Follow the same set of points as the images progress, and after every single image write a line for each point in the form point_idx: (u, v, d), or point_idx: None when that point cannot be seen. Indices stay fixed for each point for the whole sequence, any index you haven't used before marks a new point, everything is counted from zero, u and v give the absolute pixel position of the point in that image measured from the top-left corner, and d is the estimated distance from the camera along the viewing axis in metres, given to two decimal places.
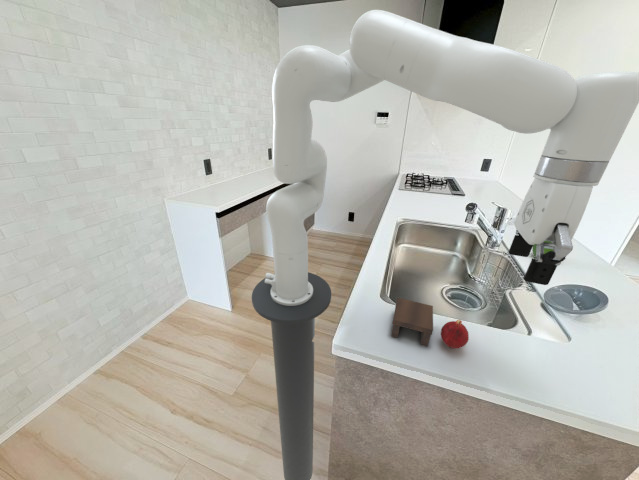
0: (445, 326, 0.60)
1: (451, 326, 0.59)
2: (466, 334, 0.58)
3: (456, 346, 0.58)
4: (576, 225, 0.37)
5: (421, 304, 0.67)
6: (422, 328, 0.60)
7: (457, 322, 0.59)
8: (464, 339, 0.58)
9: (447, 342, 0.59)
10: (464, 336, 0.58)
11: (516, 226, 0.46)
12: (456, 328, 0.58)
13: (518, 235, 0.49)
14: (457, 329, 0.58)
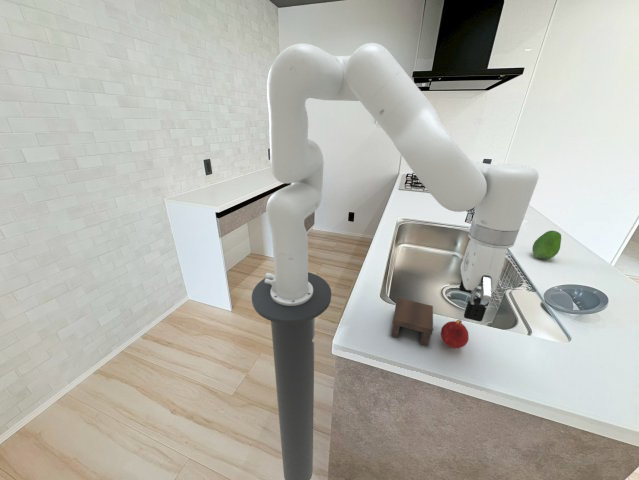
0: (445, 326, 0.60)
1: (451, 326, 0.59)
2: (466, 334, 0.58)
3: (456, 346, 0.58)
4: (497, 277, 0.47)
5: (421, 304, 0.67)
6: (422, 328, 0.60)
7: (457, 322, 0.59)
8: (464, 339, 0.58)
9: (447, 342, 0.59)
10: (464, 336, 0.58)
11: (461, 270, 0.56)
12: (456, 328, 0.58)
13: None
14: (457, 329, 0.58)
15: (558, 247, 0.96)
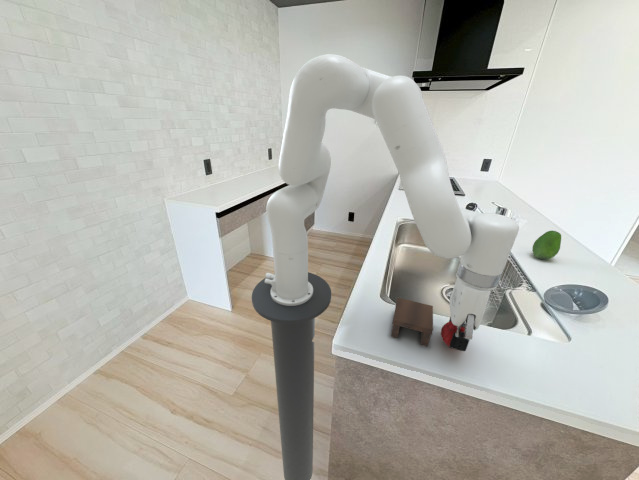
0: (445, 326, 0.60)
1: (451, 326, 0.59)
2: None
3: None
4: (481, 316, 0.51)
5: (421, 304, 0.67)
6: (422, 328, 0.60)
7: None
8: None
9: (447, 342, 0.59)
10: None
11: None
12: None
13: None
14: None
15: (558, 247, 0.96)
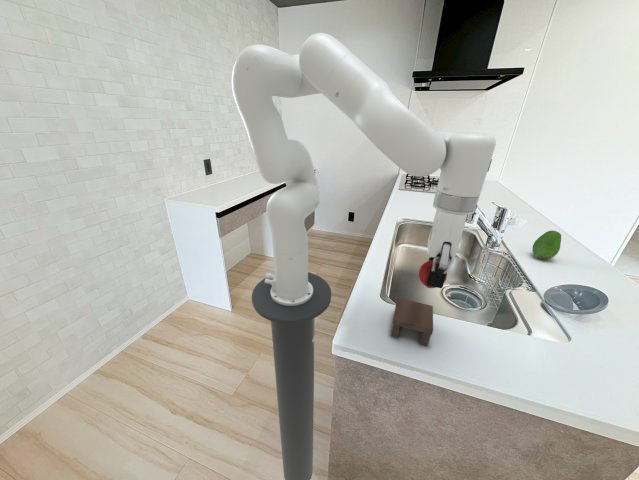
0: (423, 265, 0.58)
1: (429, 263, 0.57)
2: None
3: None
4: (457, 244, 0.49)
5: (421, 304, 0.67)
6: (422, 328, 0.60)
7: None
8: None
9: (424, 280, 0.57)
10: None
11: (428, 241, 0.58)
12: None
13: None
14: None
15: (558, 247, 0.96)
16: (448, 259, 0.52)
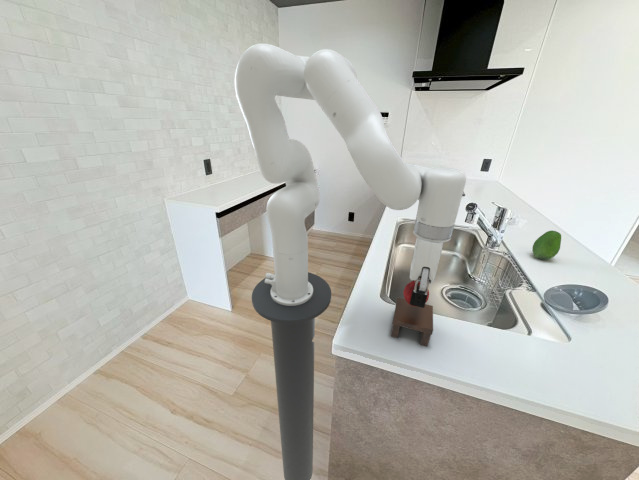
0: (407, 285, 0.62)
1: (412, 284, 0.61)
2: None
3: None
4: (434, 268, 0.53)
5: None
6: (422, 328, 0.60)
7: None
8: None
9: (408, 300, 0.61)
10: None
11: (411, 263, 0.62)
12: None
13: None
14: (417, 286, 0.60)
15: (558, 247, 0.96)
16: (428, 282, 0.56)
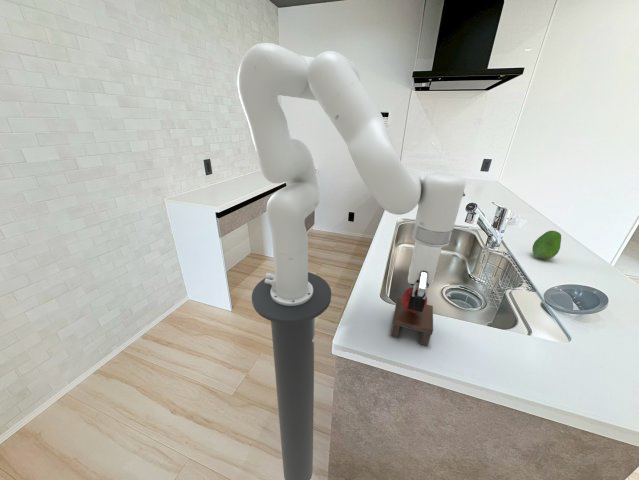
0: (405, 292, 0.63)
1: (410, 291, 0.62)
2: None
3: (414, 310, 0.61)
4: (433, 273, 0.53)
5: None
6: (422, 328, 0.60)
7: (416, 287, 0.61)
8: None
9: (406, 306, 0.62)
10: None
11: None
12: None
13: None
14: None
15: (558, 247, 0.96)
16: (426, 285, 0.55)
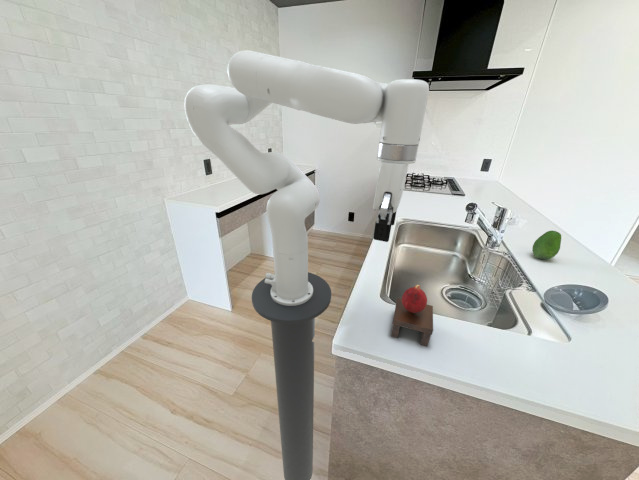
0: (405, 292, 0.63)
1: (410, 291, 0.62)
2: (424, 298, 0.61)
3: (414, 310, 0.61)
4: (397, 193, 0.50)
5: None
6: (422, 328, 0.60)
7: (416, 287, 0.61)
8: (421, 302, 0.60)
9: (406, 306, 0.62)
10: (422, 299, 0.60)
11: None
12: (414, 292, 0.61)
13: None
14: (415, 293, 0.61)
15: (558, 247, 0.96)
16: (391, 209, 0.52)
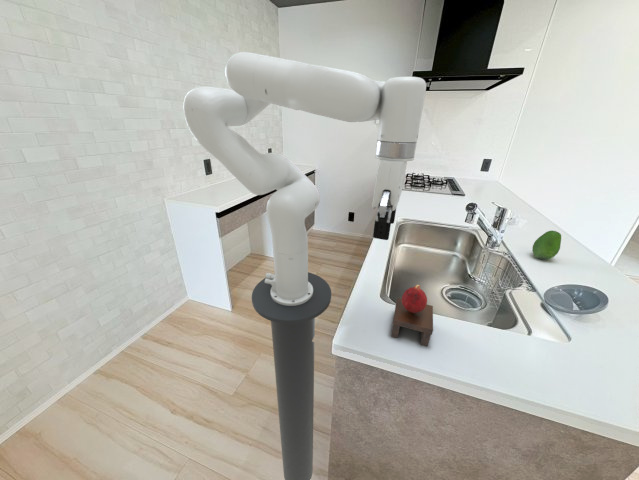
0: (405, 292, 0.63)
1: (410, 291, 0.62)
2: (424, 298, 0.61)
3: (414, 310, 0.61)
4: (396, 191, 0.49)
5: None
6: (422, 328, 0.60)
7: (416, 287, 0.61)
8: (421, 302, 0.60)
9: (406, 306, 0.62)
10: (422, 299, 0.60)
11: None
12: (414, 292, 0.61)
13: None
14: (415, 293, 0.61)
15: (558, 247, 0.96)
16: (391, 207, 0.51)
